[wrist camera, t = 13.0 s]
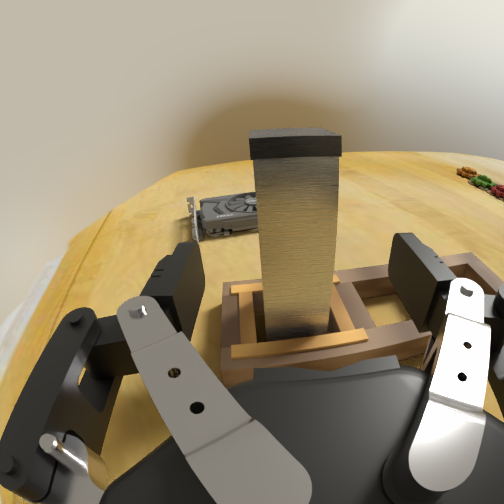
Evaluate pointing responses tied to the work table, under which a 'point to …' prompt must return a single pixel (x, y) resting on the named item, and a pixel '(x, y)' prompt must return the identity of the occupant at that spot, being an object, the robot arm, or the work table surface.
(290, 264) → the peg
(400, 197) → the work table surface
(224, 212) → the graphics card
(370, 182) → the work table surface
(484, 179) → the gear puzzle
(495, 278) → the rail
